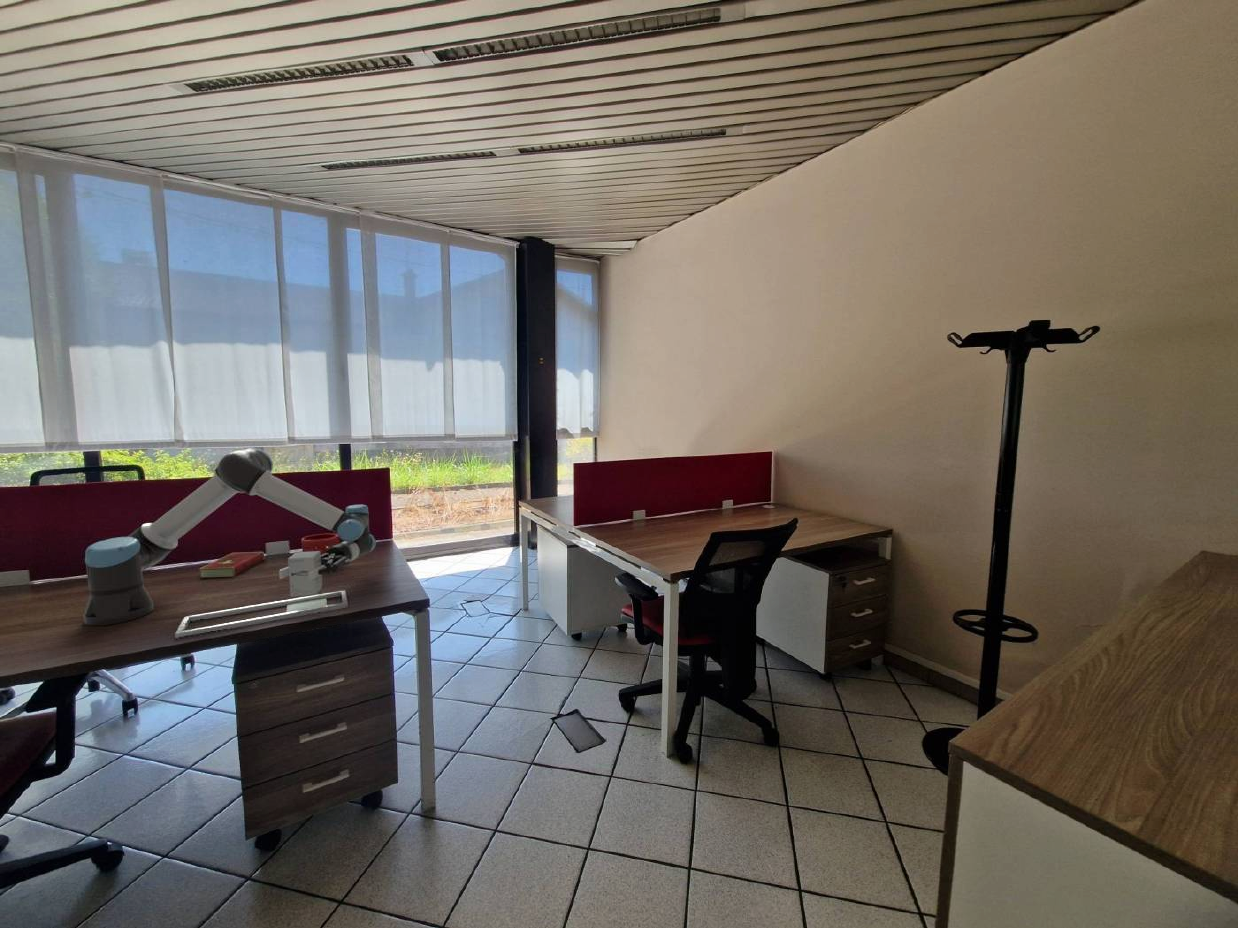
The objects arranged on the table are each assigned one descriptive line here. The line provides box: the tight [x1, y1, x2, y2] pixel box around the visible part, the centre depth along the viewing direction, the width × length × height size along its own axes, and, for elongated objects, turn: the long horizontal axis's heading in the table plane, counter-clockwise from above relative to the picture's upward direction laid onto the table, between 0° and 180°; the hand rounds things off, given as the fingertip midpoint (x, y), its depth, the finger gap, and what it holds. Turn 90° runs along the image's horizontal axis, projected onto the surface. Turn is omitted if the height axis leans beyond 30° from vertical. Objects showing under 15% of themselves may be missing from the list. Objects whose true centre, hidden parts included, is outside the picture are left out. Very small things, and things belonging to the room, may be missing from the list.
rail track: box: [174, 589, 349, 639], centre depth 154 cm, size 42×13×2 cm, turn 122°
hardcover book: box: [198, 551, 265, 579], centre depth 196 cm, size 12×21×4 cm, turn 9°
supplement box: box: [287, 551, 323, 598], centre depth 158 cm, size 7×7×13 cm
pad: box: [285, 598, 328, 613], centre depth 159 cm, size 11×10×1 cm
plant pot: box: [300, 533, 340, 567], centre depth 201 cm, size 13×13×12 cm
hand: (294, 575), depth 153 cm, fingers closed on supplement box, 9 cm apart
